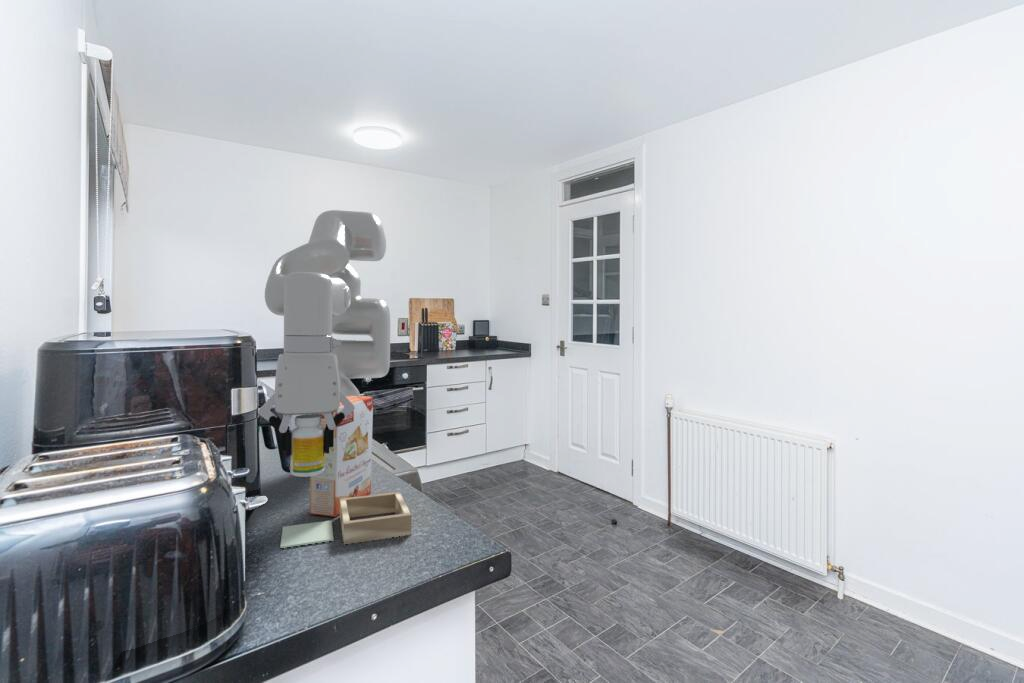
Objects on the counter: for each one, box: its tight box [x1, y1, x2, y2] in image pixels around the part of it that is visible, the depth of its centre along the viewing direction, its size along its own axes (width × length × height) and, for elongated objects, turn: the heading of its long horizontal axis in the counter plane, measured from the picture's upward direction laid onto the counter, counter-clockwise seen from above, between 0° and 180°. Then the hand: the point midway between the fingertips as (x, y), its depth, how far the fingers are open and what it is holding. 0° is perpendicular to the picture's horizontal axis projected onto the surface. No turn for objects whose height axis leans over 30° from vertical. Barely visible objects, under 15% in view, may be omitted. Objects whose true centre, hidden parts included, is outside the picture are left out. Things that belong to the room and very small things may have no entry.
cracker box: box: [309, 395, 374, 518], centre depth 96 cm, size 14×6×21 cm, turn 168°
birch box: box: [339, 491, 412, 546], centre depth 86 cm, size 12×11×4 cm
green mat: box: [279, 520, 334, 549], centre depth 82 cm, size 8×8×1 cm
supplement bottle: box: [289, 414, 325, 478], centre depth 82 cm, size 5×5×10 cm
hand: (307, 452), depth 82 cm, fingers closed on supplement bottle, 5 cm apart
